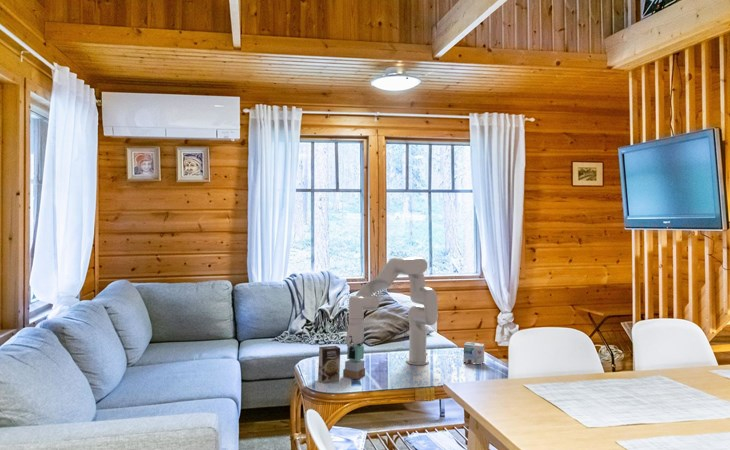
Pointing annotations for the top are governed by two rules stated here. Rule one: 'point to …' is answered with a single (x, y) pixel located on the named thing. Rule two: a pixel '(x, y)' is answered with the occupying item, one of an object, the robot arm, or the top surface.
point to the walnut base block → (353, 374)
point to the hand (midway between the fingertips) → (355, 356)
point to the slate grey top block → (354, 365)
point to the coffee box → (329, 364)
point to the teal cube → (357, 353)
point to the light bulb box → (473, 353)
